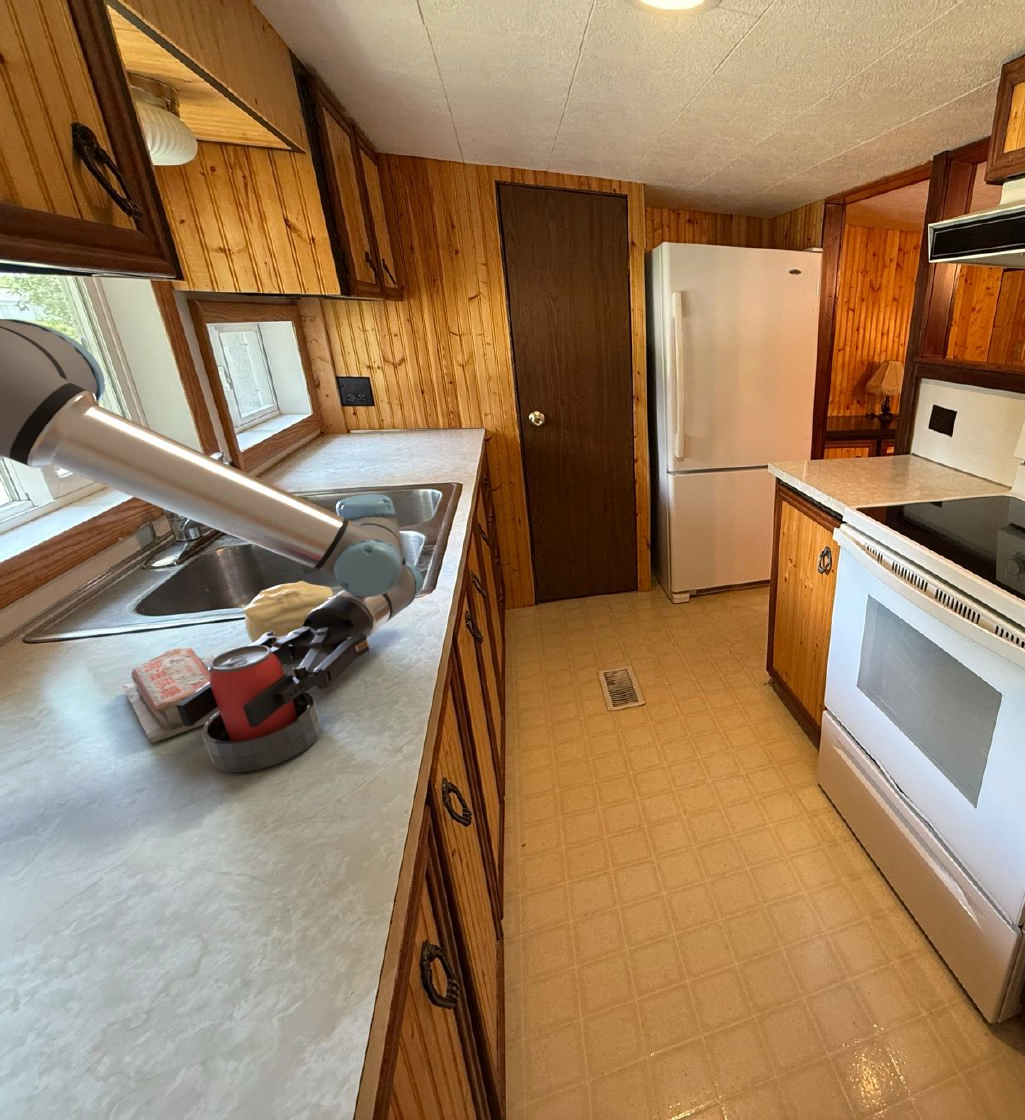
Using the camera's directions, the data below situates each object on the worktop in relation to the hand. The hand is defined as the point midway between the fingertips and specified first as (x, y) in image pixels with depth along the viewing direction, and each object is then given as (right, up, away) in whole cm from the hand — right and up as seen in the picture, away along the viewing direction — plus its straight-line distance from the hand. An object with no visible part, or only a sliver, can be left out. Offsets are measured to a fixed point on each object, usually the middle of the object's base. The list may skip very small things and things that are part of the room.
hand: (217, 716), depth 66 cm
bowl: (0, -6, +8) cm, 9 cm away
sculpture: (-13, +3, +30) cm, 33 cm away
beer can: (0, -5, +7) cm, 9 cm away
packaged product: (-18, -2, +16) cm, 24 cm away
